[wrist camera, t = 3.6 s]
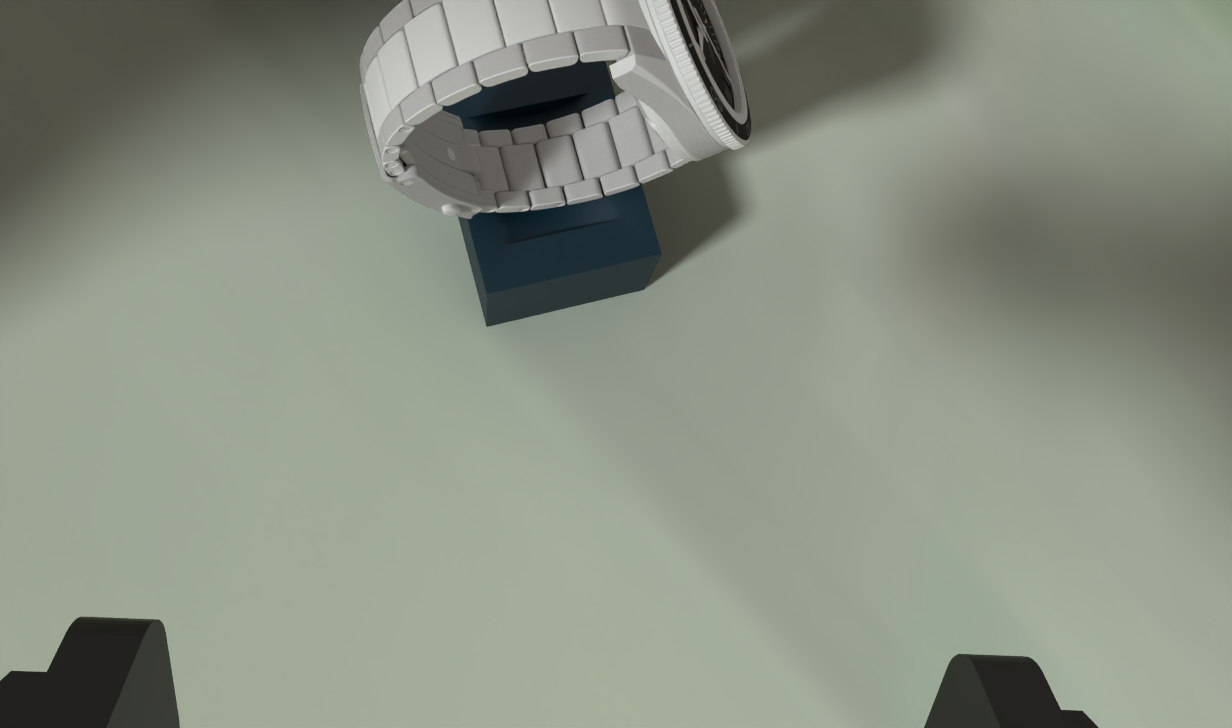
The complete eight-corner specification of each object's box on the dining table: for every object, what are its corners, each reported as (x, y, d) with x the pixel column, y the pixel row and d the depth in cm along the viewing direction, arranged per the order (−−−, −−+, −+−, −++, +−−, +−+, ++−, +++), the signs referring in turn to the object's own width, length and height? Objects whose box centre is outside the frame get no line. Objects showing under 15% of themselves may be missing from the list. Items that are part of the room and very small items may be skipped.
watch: (712, 273, 30) (836, 91, 19) (420, 342, 29) (381, 187, 18) (656, 86, 31) (745, -185, 20) (371, 145, 30) (307, -112, 19)
